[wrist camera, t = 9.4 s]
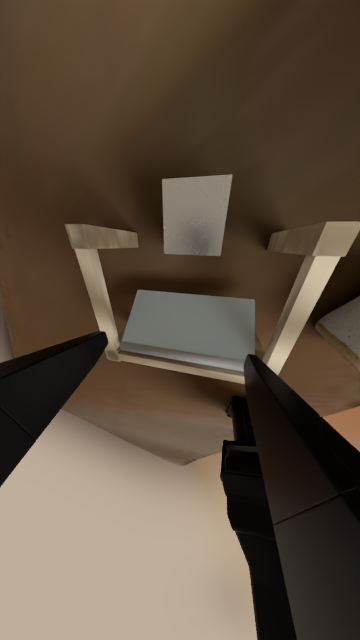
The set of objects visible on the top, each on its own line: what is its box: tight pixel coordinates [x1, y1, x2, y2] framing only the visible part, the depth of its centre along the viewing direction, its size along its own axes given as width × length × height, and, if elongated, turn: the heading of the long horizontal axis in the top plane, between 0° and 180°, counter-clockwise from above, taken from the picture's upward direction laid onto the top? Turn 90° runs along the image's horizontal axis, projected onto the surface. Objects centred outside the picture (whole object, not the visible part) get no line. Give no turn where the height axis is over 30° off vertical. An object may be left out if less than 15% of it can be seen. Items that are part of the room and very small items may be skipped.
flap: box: [120, 290, 255, 372], centre depth 15 cm, size 8×14×1 cm
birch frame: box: [65, 222, 360, 384], centre depth 15 cm, size 14×18×8 cm
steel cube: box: [162, 175, 232, 256], centre depth 13 cm, size 5×5×5 cm
